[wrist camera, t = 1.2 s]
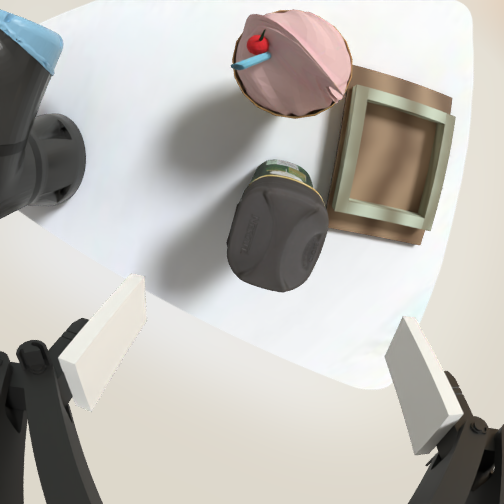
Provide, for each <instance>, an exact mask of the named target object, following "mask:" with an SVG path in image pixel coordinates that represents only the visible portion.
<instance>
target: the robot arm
mask: <svg viewBox="0 0 504 504" xmlns="http://www.w3.org/2000/svg"><path fill="white" fill-rule="evenodd" d="M62 49H63V40H62V38H61V36H60V35H59V34H57V33H55V32H53V31H52V30H50V29H47V28H45V27H43V26H41V25H39V24H36V23H34V22H32V21H29V20H27V19H24V18H22V17H19V16H17V15H14V14H11V13H8V12H6V11H3V10H1V9H0V219H1V218H3V217H5V216H7V215H9V214H11V213H13V212H14V211H17V210H19V209H21V208H23V207H25V206H27V205H33V206H52V205H56V204H59V203H61V202H63V201H65V200H67V199H69V198H70V197H71V196H72V195H73V194H74V193H75V192H76V190H77V189H78V187H79V185H80V183H81V181H82V178H83V175H84V171H85V164H86V153H85V146H84V141H83V138H82V135H81V133H80V131H79V129H78V128H77V126H76V125H75V124H74V122H73V121H72V120H70V119H69V118H68V117H66V116H64V115H61V114H44V115H40V116H38V117H36V114H37V112H38V109H39V106H40V103H41V101H42V98H43V96H44V93H45V91H46V88H47V86H48V83H49V81H50V79H51V76H53V75H54V69H55V66H56V64H57V61H58V59H59V57H60V54H61V52H62ZM35 117H36V118H35ZM146 321H147V316H146V298H145V276H141V275H136V274H130V275H129V276H128V277H127V278H126V279H125V281H124V282H123V283H122V284H121V285H120V286H119V287H118V288H117V289H116V290H115V292H114V293H113V294H112V295H111V296H110V297H109V298H108V299H107V300H106V302H105V303H104V304H103V305H102V306H101V307H100V308H99V310H98V311H97V312H96V313H95V314H94V315H93V316H92V318H91V319H90V320H88V319H84V318H81V319H79V320H77V321H76V322H74V323H72V324H71V325H70V327H69V328H68V329H67V330H66V332H64V333H63V334H62V336H61V337H60V338H59V339H58V340H57V341H56V342H55V344H54V345H53V346H52V347H51V348H50V349H49V350H48V349H47V347H46V345H45V344H44V343H43V342H42V341H38V340H30V341H27V342H24V343H23V344H21V345H20V346H19V348H18V349H17V352H16V355H17V357H18V360H19V362H20V363H15V362H10V360H9V358H8V356H7V354H6V353H4V352H1V351H0V504H24V501H23V500H24V499H23V475H24V452H25V439H26V428H27V419H28V424H29V431H30V437H31V442H32V448H33V452H34V457H35V461H36V466H37V470H38V474H39V478H40V482H41V486H42V490H43V492H44V496H45V500H46V503H47V504H103V503H102V501H101V498H100V496H99V494H98V491H97V489H96V486H95V484H94V481H93V479H92V476H91V474H90V471H89V468H88V465H87V462H86V460H85V457H84V454H83V451H82V448H81V445H80V441H79V438H78V435H77V431H76V428H75V424H74V421H73V417H72V413H71V410H70V406H69V404H68V403H69V401H70V400H71V398H72V397H73V399H74V402H75V404H76V406H78V407H81V408H83V409H86V410H88V411H91V412H92V410H93V409H94V407H95V405H96V403H97V402H98V400H99V398H100V396H101V395H102V393H103V391H104V390H105V388H106V386H107V385H108V383H109V381H110V379H111V378H112V376H113V374H114V373H115V371H116V369H117V368H118V366H119V365H120V363H121V361H122V360H123V358H124V356H125V355H126V353H127V351H128V350H129V348H130V347H131V345H132V343H133V342H134V340H135V339H136V337H137V336H138V334H139V332H140V331H141V329H142V327H143V326H144V325H145V323H146ZM385 359H386V362H387V365H388V368H389V371H390V374H391V377H392V380H393V383H394V386H395V389H396V392H397V395H398V398H399V402H400V405H401V408H402V412H403V415H404V419H405V422H406V425H407V429H408V432H409V436H410V440H411V443H412V446H413V451H414V454H415V455H421V454H429V453H430V452H431V451H432V450H433V449H434V448H435V447H436V446H437V449H438V453H437V454H436V455H435V456H434V457H433V458H432V459H431V460H430V461H429V462H428V463H427V464H426V466H428V465H429V464H430V463H431V464H430V466H429V468H428V470H427V471H426V473H425V475H424V477H423V479H422V481H421V483H420V484H419V486H418V488H417V489H416V491H415V493H414V495H413V496H412V498H411V499H410V501H409V503H408V504H504V424H503V426H502V427H501V428H500V429H499V430H498V429H492V428H488V426H487V424H486V422H485V421H484V420H482V419H481V418H479V417H476V416H473V415H472V413H471V410H470V408H469V406H468V404H467V402H466V400H465V398H464V395H462V391H461V389H460V388H459V385H458V384H457V381H456V379H455V378H454V377H453V376H452V375H451V374H450V373H449V372H448V371H443V369H442V367H441V365H440V363H439V361H438V359H437V357H436V355H435V353H434V351H433V349H432V348H431V346H430V344H429V342H428V340H427V338H426V336H425V335H424V333H423V331H422V329H421V327H420V325H419V324H418V322H417V320H416V318H415V317H406V316H403V317H402V319H401V322H400V324H399V326H398V328H397V331H396V333H395V335H394V337H393V340H392V342H391V344H390V346H389V348H388V350H387V353H386V355H385ZM494 467H495V468H494ZM493 469H494V472H493Z"/></svg>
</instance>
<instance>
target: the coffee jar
mask: <svg viewBox="0 0 504 504" xmlns="http://www.w3.org/2000/svg"><path fill="white" fill-rule="evenodd" d="M328 226H329V218H328V213H327V210H326V207H325V204H324V201H323V199H322V197H321V196H320V194H319V193H318V192H317V191H316V190H315V189H313V185H312V182H311V179H310V176H309V175H308V173H307V172H306V171H305V170H304V169H303V168H301V167H299V166H297V165H295V164H292V163H290V162H286V161H282V160H268V161H265V162H264V163H262V164H261V165H260V166H259V167H258V169H257V170H256V172H255V174H254V176H253V178H252V180H251V183H250V184H249V186H248V187H247V188H246V190H245V191H244V193H243V196H242V198H241V200H240V202H239V203H238V205H237V207H236V211H235V215H234V218H233V222H232V226H231V229H230V233H229V236H228V240H227V247H228V248H227V258H228V262H229V265H230V267H231V269H232V271H233V272H234V273H235V275H236V276H237V277H238V278H239V279H240V280H242V281H244V282H246V283H249V284H251V285H254V286H257V287H260V288H264V289H267V290H272V291H277V292H286V291H290V290H293V289H295V288H297V287H299V286H300V285H302V284H303V283H304V282H305V281H306V280H307V279H308V277H309V276H310V274H311V272H312V270H313V268H314V266H315V264H316V262H317V260H318V258H319V255H320V253H321V250H322V247H323V244H324V241H325V238H326V234H327V231H328Z"/></svg>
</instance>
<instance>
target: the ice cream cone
mask: <svg viewBox="0 0 504 504" xmlns="http://www.w3.org/2000/svg"><path fill="white" fill-rule="evenodd" d="M232 62H233V64H232V65H231V67H232V68H233V70H234V77H235V79H236V81H237V83H238V85H239V87H240V89H241V91H242V93H243V94H244V95H245V96H246V97H247V98H248V99H249V100H250V101H251V102H252V103H253V104H255V105H256V106H257V107H258V108H260V109H262V110H265V111H267V112H269V113H271V114H273V115H275V116H281V117H288V118H294V119H296V118H303V117H309V116H315V115H317V114H319V113H321V112H323V111H325V110H327V109H329V108H331V107H332V106H333V105H334V104H335V103H338V101H339V100H341V99H342V97H344V94H345V92H346V90H347V87H348V85H349V83H350V80H351V78H352V56H351V53H350V50H349V47H348V44H347V42H346V40H345V39H344V38H343V36H342V35H341V34H340V33H339V31H338V30H337V29H336V28H335V27H334V26H333V25H331V24H330V23H328V22H327V21H325V20H324V19H322V18H321V17H319V16H317V15H315V14H313V13H310V12H303V11H300V10H294V9H293V10H280V11H276V12H273V13H268V14H265V15H264V16H262V15H258V14H252V15H250V16H249V17H248V18H247V20H246V23H245V27H244V31H243V33H242V34H241V36H240V37H239V38H238V40H237V41H236V45H235V50H234V54H233V58H232ZM344 98H345V97H344ZM345 99H346V98H345Z"/></svg>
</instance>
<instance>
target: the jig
mask: <svg viewBox="0 0 504 504" xmlns="http://www.w3.org/2000/svg"><path fill="white" fill-rule="evenodd" d="M451 105H452V98H451V97H449V96H446V95H444V94H441V93H439V92H436V91H434V90H431V89H428V88H426V87H423V86H420V85H418V84H415V83H412V82H409V81H406V80H403V79H400V78H397V77H394V76H391V75H387V74H384V73H381V72H377V71H374V70H370V69H366V68H363V67H359V66H355V65H352V78H351V80H350V83H349V85H348V87H347V93H346V100H345V106H344V113H343V119H342V125H341V131H340V137H339V143H338V149H337V154H336V160H335V165H334V171H333V176H332V181H331V186H330V191H329V196H328V201H327V206H326V210H327V213H328V218H329V226H328V228H333V229H339V230H344V231H350V232H355V233H360V234H366V235H371V236H376V237H381V238H386V239H391V240H396V241H401V242H406V243H411V244H416V245H421V242H422V238H423V235H424V232H425V230H427V231H431V228H432V224H433V221H434V217H435V214H436V210H437V206H438V202H439V198H440V194H441V190H442V186H443V182H444V178H445V173H446V168H447V164H448V159H449V154H450V148H451V143H452V137H453V131H454V125H455V118H456V117H455V116H452V115H450V112H451Z"/></svg>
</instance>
